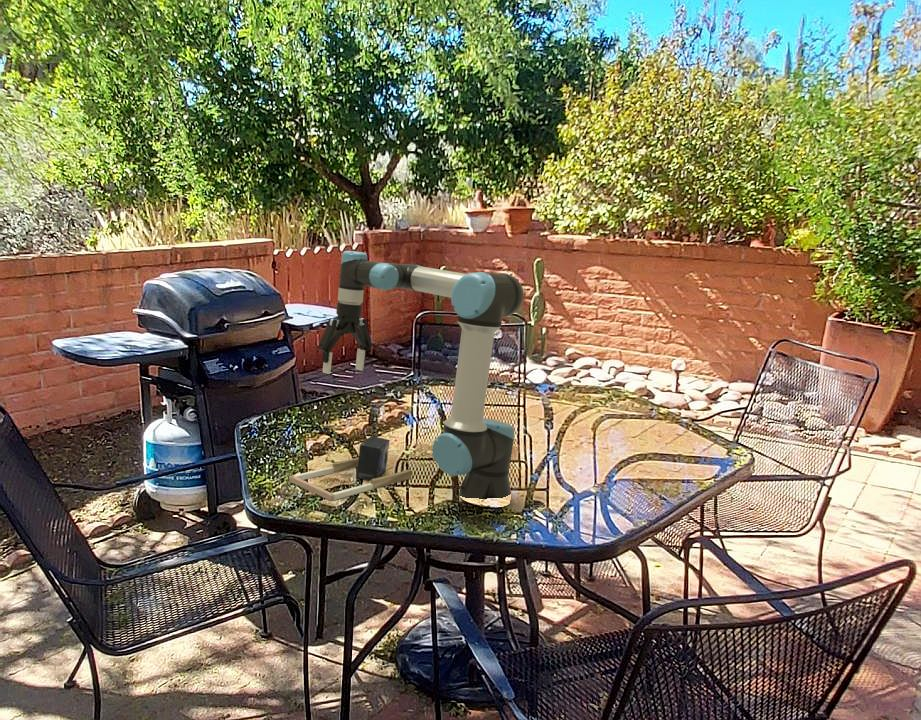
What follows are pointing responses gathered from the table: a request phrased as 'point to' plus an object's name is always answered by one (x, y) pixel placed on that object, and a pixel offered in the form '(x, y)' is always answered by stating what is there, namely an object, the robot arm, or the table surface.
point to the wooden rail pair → (377, 481)
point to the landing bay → (300, 482)
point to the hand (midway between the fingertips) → (343, 371)
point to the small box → (372, 458)
